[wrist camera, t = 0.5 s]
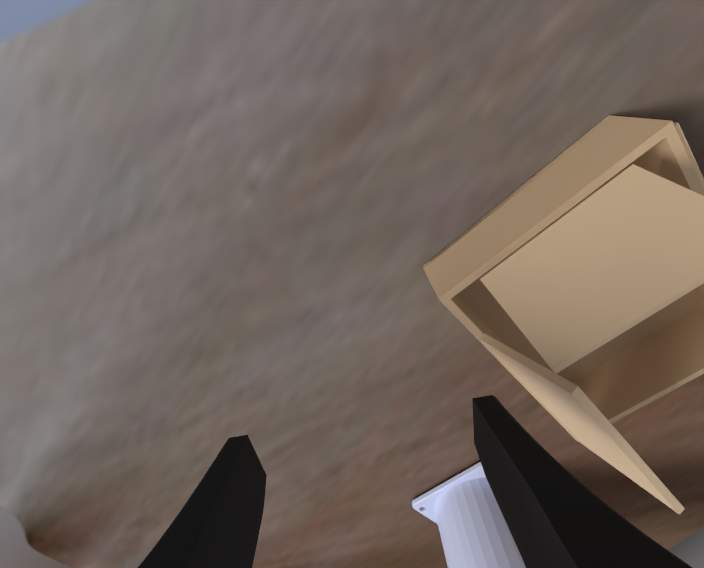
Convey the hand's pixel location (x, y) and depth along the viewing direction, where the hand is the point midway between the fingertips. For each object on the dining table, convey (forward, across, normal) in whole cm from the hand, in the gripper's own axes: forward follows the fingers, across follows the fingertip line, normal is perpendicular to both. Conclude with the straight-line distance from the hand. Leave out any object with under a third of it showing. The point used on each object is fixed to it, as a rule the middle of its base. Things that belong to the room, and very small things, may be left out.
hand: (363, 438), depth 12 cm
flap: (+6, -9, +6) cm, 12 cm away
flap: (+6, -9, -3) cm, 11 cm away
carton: (+10, -12, +2) cm, 16 cm away
